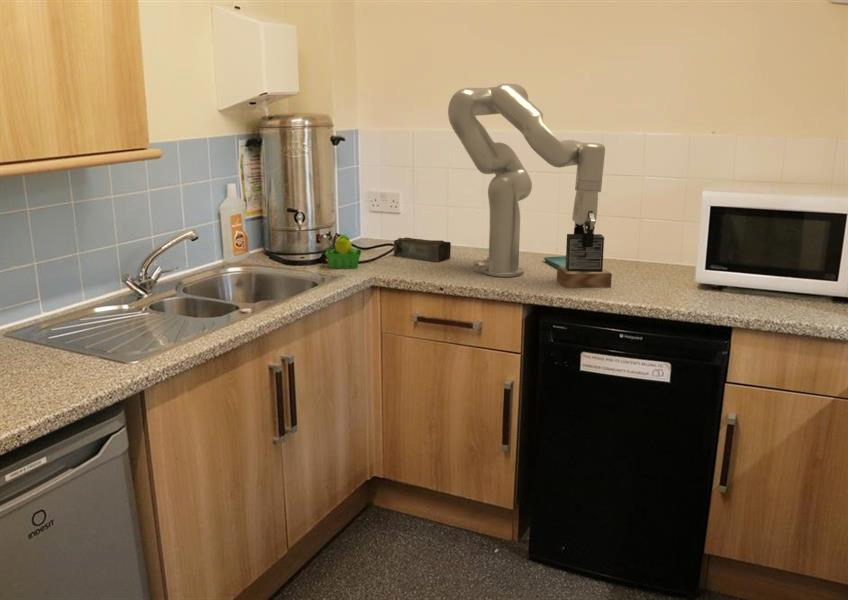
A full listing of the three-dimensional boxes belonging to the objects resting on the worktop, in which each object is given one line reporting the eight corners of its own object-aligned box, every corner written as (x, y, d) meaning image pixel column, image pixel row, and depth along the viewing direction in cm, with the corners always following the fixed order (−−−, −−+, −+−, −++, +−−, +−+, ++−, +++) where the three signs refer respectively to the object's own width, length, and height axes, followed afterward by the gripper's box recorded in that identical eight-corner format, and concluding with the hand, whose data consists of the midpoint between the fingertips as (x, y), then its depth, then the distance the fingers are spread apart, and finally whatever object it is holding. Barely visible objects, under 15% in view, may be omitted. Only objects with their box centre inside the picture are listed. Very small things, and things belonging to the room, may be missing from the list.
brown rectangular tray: (564, 287, 234) (565, 273, 233) (556, 279, 244) (557, 266, 243) (610, 287, 235) (611, 272, 234) (601, 279, 245) (602, 265, 244)
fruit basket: (361, 264, 264) (361, 230, 262) (360, 270, 256) (360, 235, 253) (327, 264, 264) (326, 230, 261) (325, 270, 256) (324, 235, 253)
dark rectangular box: (405, 253, 284) (405, 235, 282) (451, 259, 274) (452, 240, 273) (393, 256, 278) (393, 238, 276) (439, 263, 268) (440, 244, 266)
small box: (599, 267, 241) (602, 233, 239) (603, 272, 235) (605, 237, 232) (564, 266, 242) (566, 232, 239) (567, 271, 236) (568, 236, 233)
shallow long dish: (542, 262, 270) (543, 255, 270) (567, 261, 272) (568, 254, 272) (573, 280, 246) (573, 272, 245) (600, 278, 248) (601, 271, 247)
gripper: (568, 181, 240) (563, 236, 245) (583, 189, 224) (577, 249, 228) (592, 182, 241) (587, 237, 246) (609, 190, 224) (603, 249, 229)
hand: (582, 243), depth 237 cm, fingers open, 9 cm apart
